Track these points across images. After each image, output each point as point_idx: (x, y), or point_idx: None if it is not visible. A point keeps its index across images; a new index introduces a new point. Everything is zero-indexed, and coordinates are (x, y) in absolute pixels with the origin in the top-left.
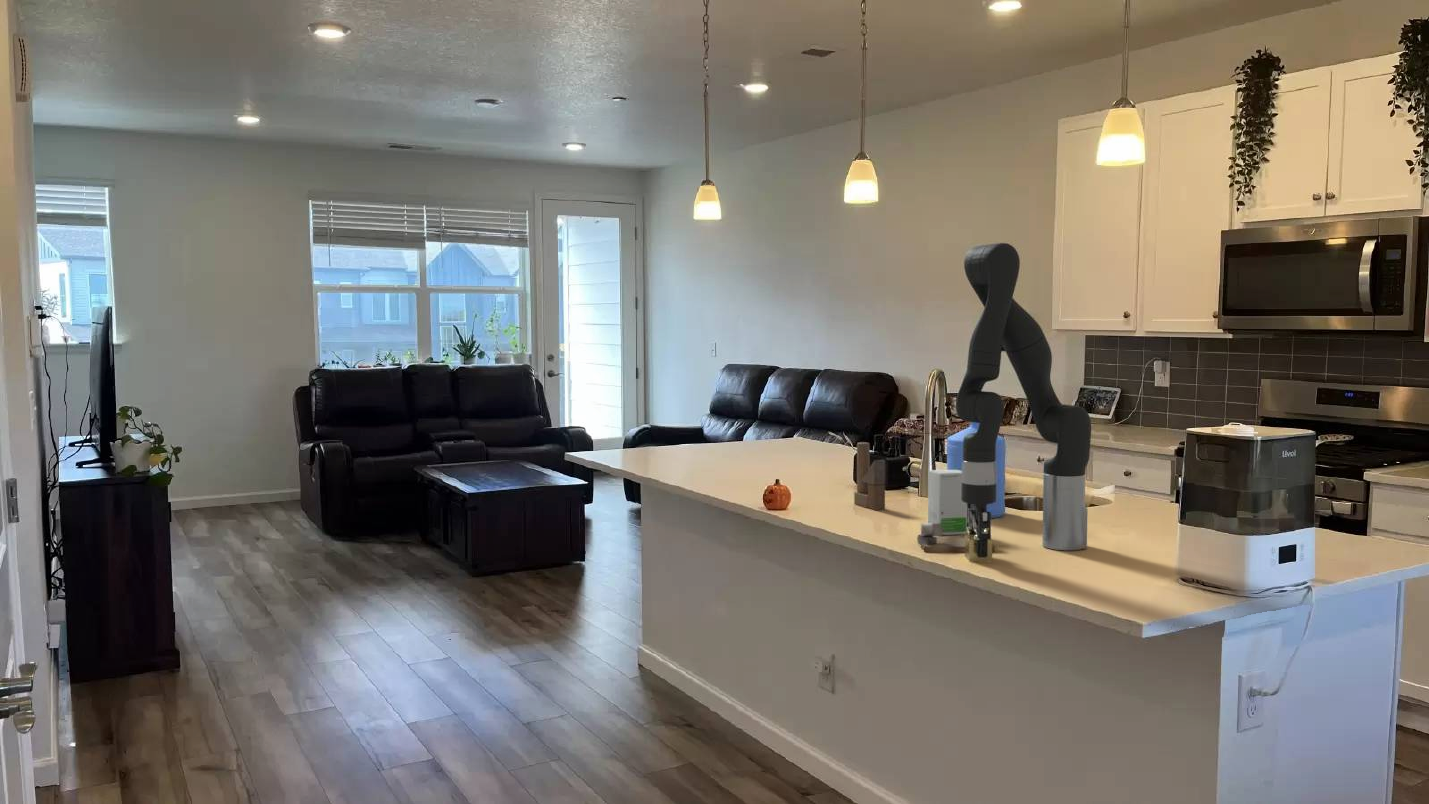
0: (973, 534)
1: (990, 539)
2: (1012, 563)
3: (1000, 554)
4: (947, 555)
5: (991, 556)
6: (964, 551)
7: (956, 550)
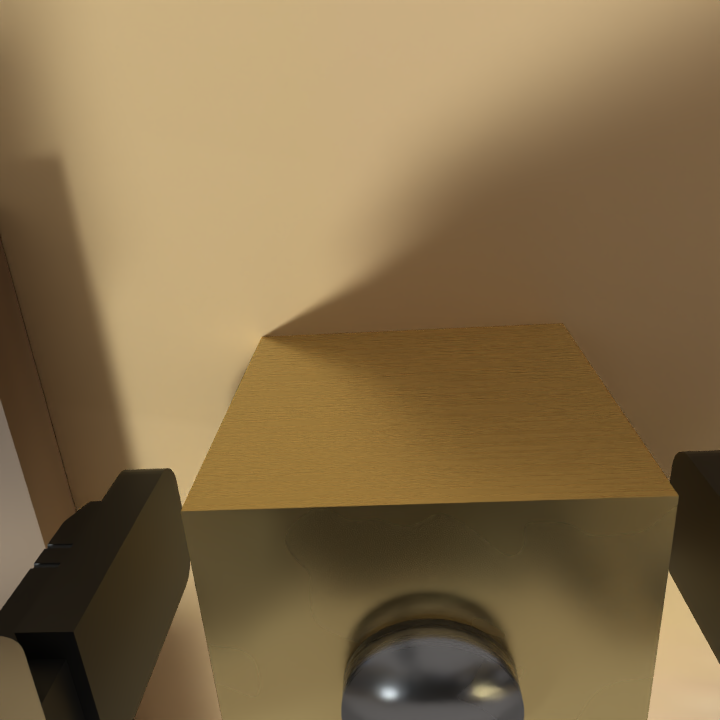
0: (112, 694)
1: (660, 526)
2: (704, 44)
3: (118, 137)
4: None
5: (577, 356)
6: None
7: None
